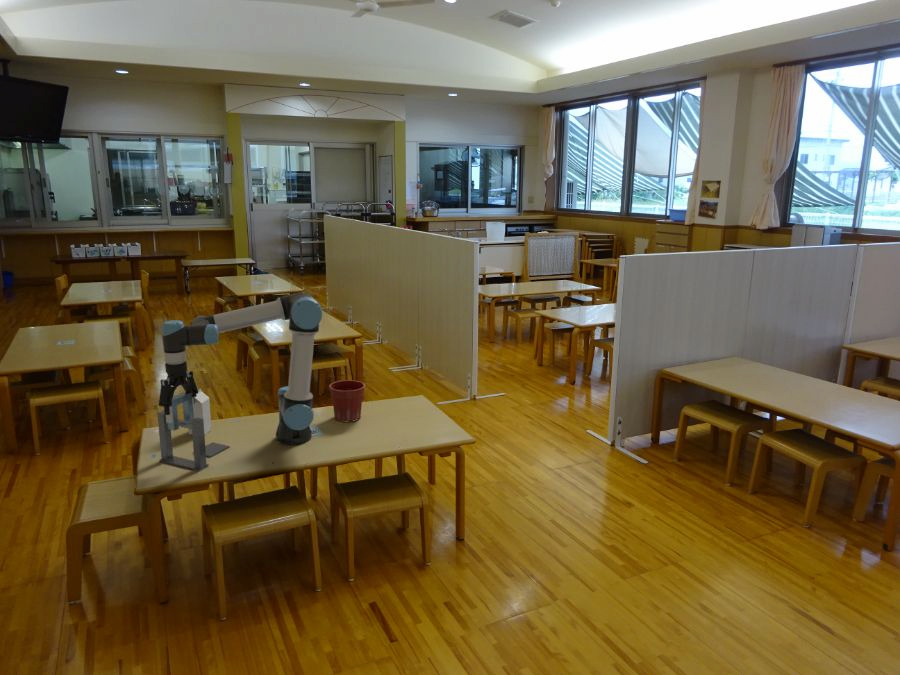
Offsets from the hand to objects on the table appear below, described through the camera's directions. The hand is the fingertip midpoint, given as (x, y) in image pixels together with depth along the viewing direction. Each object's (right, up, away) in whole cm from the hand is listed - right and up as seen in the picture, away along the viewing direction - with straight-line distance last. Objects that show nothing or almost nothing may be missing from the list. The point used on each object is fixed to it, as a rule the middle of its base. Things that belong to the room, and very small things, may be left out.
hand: (180, 417), depth 246 cm
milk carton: (-6, -11, +35) cm, 38 cm away
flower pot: (+55, -7, +57) cm, 79 cm away
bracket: (0, -3, +1) cm, 3 cm away
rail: (-1, -19, +5) cm, 19 cm away
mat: (+5, -16, +17) cm, 24 cm away
